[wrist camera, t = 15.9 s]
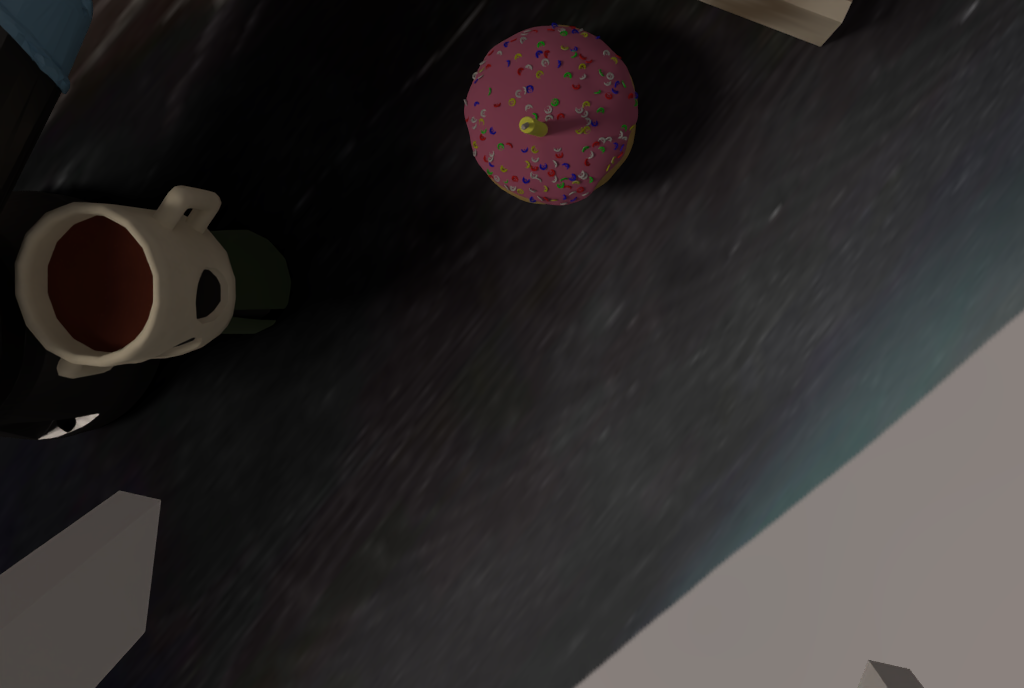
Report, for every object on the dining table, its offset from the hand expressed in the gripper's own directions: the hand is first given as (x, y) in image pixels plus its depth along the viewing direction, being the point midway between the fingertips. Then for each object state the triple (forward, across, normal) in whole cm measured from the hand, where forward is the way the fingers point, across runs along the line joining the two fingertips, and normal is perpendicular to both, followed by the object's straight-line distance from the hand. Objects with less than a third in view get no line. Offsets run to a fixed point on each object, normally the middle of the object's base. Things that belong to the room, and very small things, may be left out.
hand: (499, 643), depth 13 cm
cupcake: (+29, -1, +11) cm, 31 cm away
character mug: (+30, -17, -1) cm, 35 cm away
